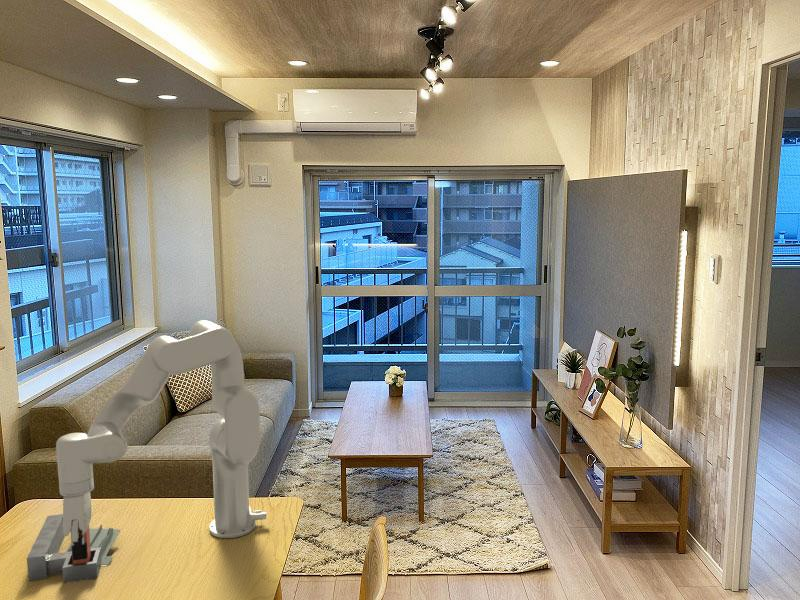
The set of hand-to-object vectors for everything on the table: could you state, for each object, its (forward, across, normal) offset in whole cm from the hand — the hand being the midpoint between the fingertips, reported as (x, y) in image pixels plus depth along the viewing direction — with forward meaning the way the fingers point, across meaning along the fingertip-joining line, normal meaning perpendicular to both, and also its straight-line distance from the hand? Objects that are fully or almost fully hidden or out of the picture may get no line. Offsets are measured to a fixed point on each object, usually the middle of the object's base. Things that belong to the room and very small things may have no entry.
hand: (81, 553), depth 160 cm
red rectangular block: (+2, 0, 0) cm, 2 cm away
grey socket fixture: (+5, -9, -4) cm, 11 cm away
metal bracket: (+6, -10, 0) cm, 11 cm away
